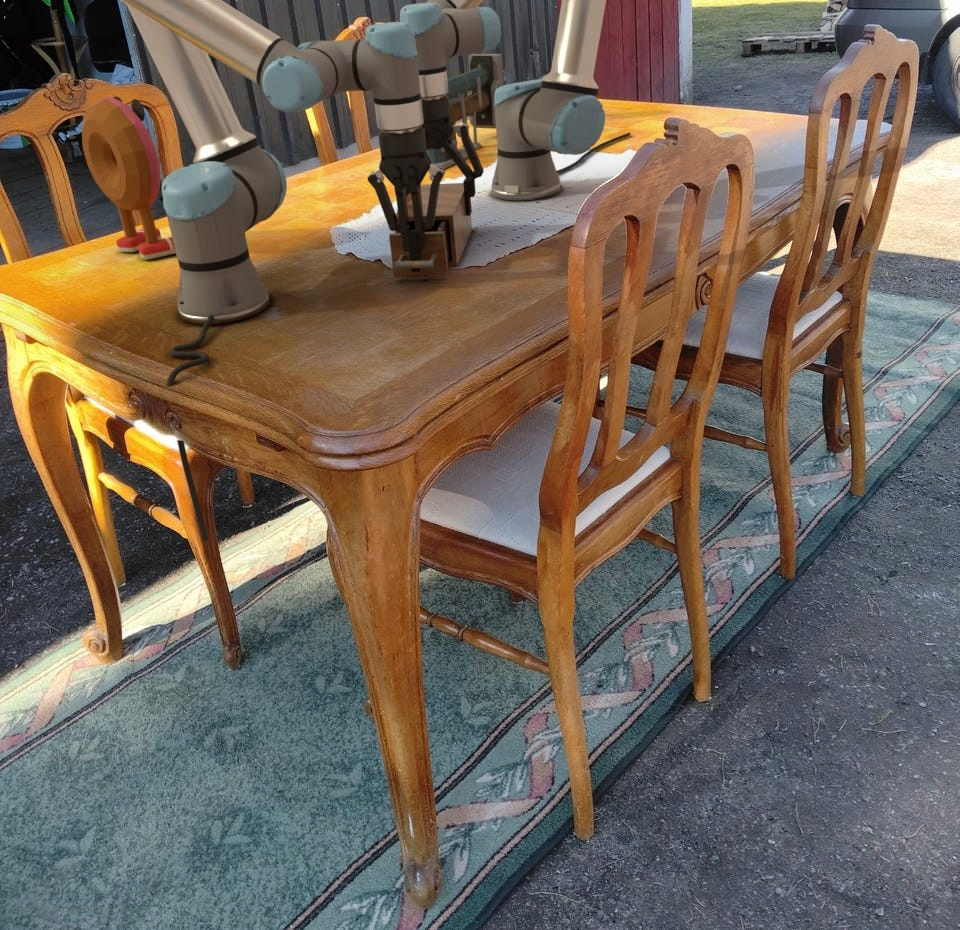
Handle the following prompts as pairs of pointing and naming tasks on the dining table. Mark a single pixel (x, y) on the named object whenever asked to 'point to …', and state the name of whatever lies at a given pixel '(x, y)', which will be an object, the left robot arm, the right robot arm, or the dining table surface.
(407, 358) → the dining table surface
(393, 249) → the drawer
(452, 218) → the cabinet
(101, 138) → the toy
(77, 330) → the dining table surface
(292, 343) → the dining table surface
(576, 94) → the right robot arm
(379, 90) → the left robot arm
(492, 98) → the clamp
